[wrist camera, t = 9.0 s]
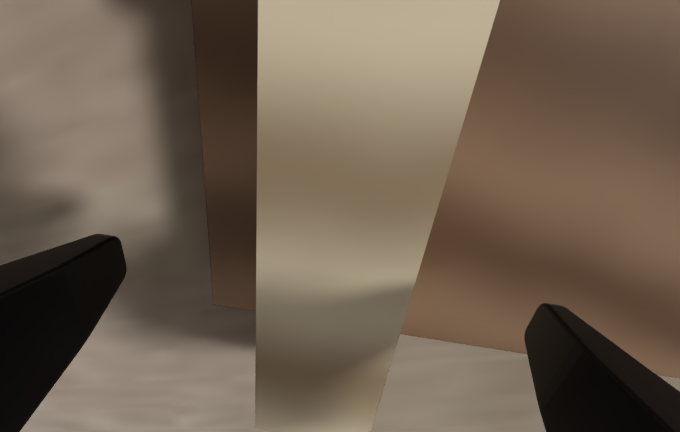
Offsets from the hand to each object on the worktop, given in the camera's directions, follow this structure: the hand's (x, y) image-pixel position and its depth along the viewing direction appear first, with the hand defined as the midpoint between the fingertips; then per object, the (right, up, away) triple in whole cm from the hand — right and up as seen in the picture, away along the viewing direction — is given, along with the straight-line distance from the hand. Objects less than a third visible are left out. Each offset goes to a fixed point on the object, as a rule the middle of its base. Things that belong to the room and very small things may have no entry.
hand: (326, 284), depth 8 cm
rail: (+1, +4, +3) cm, 5 cm away
